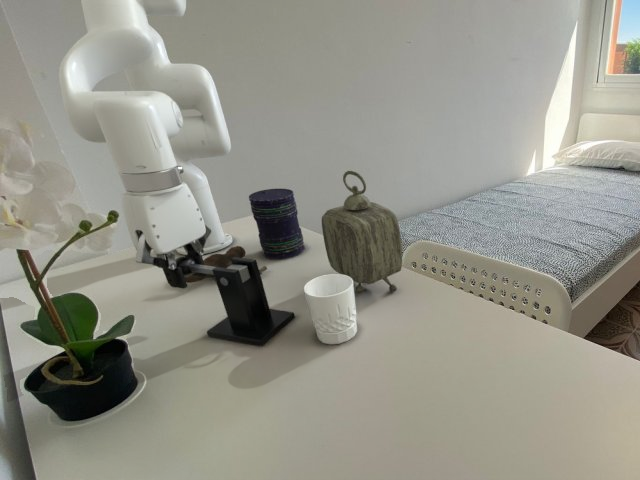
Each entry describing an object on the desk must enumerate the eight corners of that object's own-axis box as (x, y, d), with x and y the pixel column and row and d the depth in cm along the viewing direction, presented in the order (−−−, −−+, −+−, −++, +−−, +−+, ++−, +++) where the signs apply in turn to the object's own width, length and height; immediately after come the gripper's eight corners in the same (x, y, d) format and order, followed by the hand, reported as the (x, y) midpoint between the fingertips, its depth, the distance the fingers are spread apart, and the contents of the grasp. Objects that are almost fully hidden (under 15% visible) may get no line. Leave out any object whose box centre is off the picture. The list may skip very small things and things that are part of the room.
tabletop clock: (405, 291, 87) (395, 173, 75) (370, 309, 81) (353, 183, 69) (364, 270, 95) (349, 161, 84) (329, 285, 89) (308, 170, 77)
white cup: (369, 332, 74) (362, 284, 69) (328, 353, 68) (318, 302, 64) (345, 315, 78) (337, 269, 74) (306, 333, 73) (295, 285, 69)
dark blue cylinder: (313, 248, 106) (302, 192, 99) (279, 263, 98) (265, 203, 91) (289, 240, 110) (276, 186, 103) (254, 254, 103) (239, 196, 96)
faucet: (223, 257, 101) (283, 267, 100) (170, 288, 85) (239, 299, 85) (221, 239, 99) (281, 249, 98) (165, 267, 83) (236, 279, 83)
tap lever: (170, 279, 72) (163, 260, 70) (188, 269, 75) (181, 252, 73) (239, 289, 69) (233, 270, 67) (254, 279, 72) (249, 260, 70)
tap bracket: (208, 336, 72) (184, 272, 66) (245, 309, 80) (227, 250, 74) (262, 346, 70) (242, 280, 64) (295, 317, 78) (280, 256, 72)
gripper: (179, 166, 73) (209, 259, 81) (78, 193, 59) (127, 302, 67) (214, 169, 72) (241, 263, 80) (119, 197, 57) (165, 308, 66)
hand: (189, 280), depth 73 cm, fingers closed on tap lever, 3 cm apart
